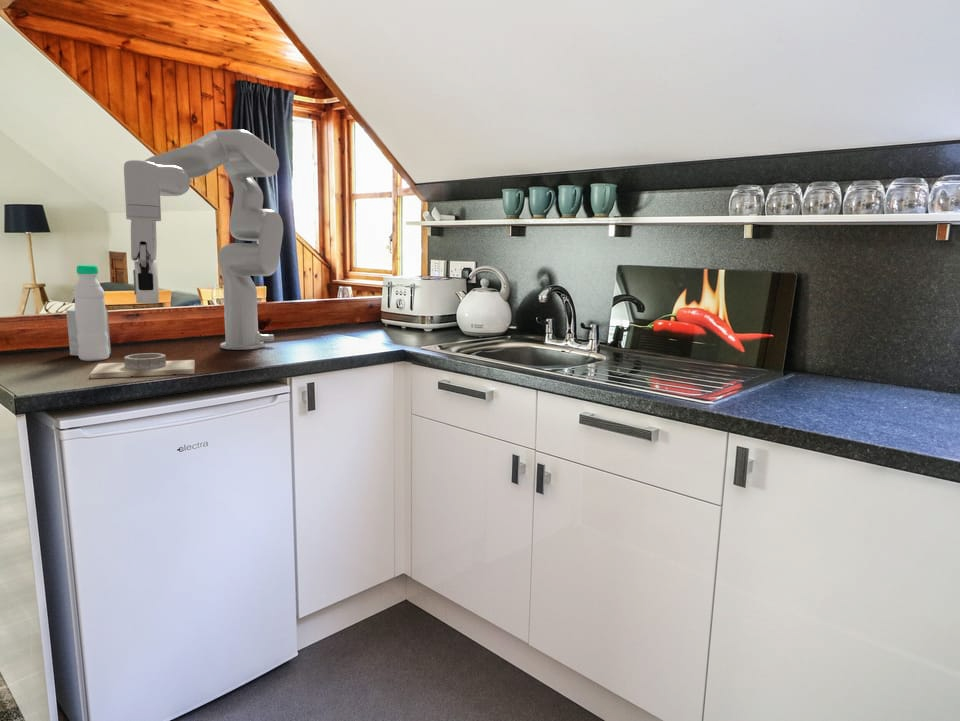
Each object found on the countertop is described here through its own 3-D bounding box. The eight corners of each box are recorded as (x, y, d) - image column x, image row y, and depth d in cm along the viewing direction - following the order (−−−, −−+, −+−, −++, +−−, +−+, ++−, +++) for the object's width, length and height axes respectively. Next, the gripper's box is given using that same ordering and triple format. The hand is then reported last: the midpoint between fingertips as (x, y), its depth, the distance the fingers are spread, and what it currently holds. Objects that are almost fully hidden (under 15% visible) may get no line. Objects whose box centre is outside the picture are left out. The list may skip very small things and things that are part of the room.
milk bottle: (95, 361, 169) (87, 265, 164) (72, 360, 170) (64, 265, 166) (115, 357, 175) (108, 265, 171) (93, 356, 177) (86, 264, 172)
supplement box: (112, 353, 181) (108, 309, 179) (86, 357, 174) (82, 311, 172) (94, 351, 184) (91, 307, 182) (69, 355, 177) (65, 309, 175)
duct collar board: (194, 364, 169) (194, 350, 169) (194, 373, 157) (193, 358, 157) (99, 368, 161) (97, 353, 160) (90, 378, 149) (89, 362, 148)
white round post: (159, 301, 162) (157, 261, 160) (158, 303, 157) (156, 262, 156) (136, 301, 160) (134, 261, 158) (134, 303, 155) (132, 261, 154)
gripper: (130, 215, 162) (133, 287, 165) (121, 211, 146) (125, 291, 149) (163, 216, 165) (166, 287, 167) (158, 213, 149) (161, 291, 152)
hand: (147, 288), depth 158 cm, fingers closed on white round post, 5 cm apart
